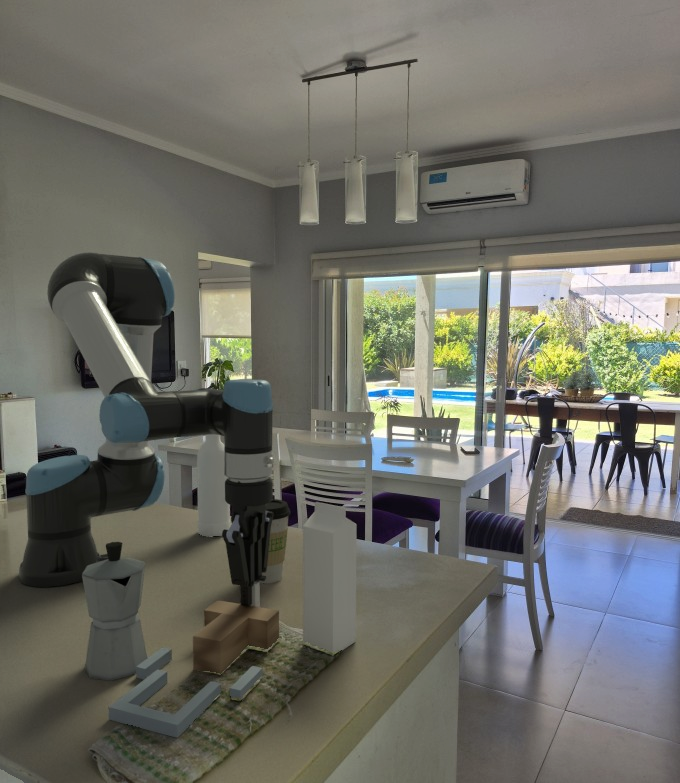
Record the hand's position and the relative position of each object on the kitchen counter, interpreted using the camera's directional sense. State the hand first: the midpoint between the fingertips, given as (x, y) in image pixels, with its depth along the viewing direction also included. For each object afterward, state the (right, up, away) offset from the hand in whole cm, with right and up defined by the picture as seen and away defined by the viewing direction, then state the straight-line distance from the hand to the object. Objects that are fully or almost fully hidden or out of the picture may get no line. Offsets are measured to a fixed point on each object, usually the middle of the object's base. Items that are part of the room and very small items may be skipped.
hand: (250, 621), depth 99 cm
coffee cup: (0, 0, +24) cm, 24 cm away
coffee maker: (-19, -3, -9) cm, 21 cm away
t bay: (-7, -3, -18) cm, 19 cm away
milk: (+13, -2, -3) cm, 13 cm away
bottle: (-17, +2, +54) cm, 57 cm away
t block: (-2, -2, -6) cm, 7 cm away
